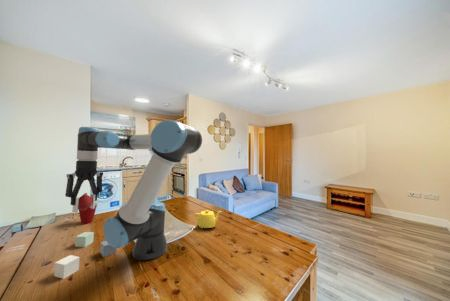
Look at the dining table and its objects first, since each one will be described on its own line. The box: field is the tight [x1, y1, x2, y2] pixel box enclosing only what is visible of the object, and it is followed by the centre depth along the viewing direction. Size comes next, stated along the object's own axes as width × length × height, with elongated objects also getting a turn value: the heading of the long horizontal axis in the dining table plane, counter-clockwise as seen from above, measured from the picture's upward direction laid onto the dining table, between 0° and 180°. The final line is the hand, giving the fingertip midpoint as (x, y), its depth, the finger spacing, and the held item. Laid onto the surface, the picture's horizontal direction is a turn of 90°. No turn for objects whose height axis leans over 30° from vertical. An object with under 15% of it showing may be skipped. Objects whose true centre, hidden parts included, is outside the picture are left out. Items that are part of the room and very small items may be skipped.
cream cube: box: [53, 254, 81, 280], centre depth 63 cm, size 5×5×5 cm
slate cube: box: [99, 240, 117, 258], centre depth 77 cm, size 5×5×5 cm
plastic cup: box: [78, 202, 98, 225], centre depth 110 cm, size 11×11×12 cm
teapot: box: [194, 209, 222, 229], centre depth 109 cm, size 18×11×11 cm, turn 96°
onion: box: [78, 192, 93, 211], centre depth 76 cm, size 6×6×8 cm
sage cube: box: [74, 231, 95, 248], centre depth 83 cm, size 5×5×5 cm
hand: (83, 209), depth 76 cm, fingers closed on onion, 6 cm apart
